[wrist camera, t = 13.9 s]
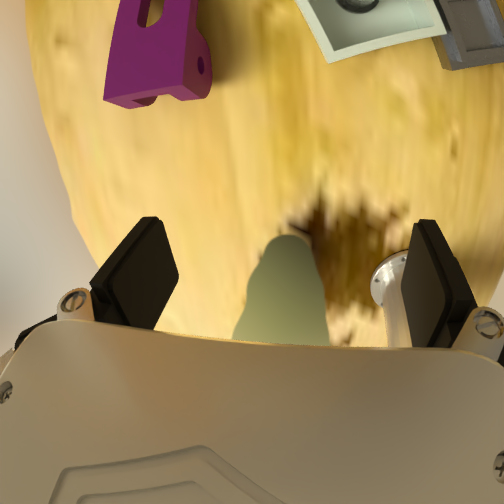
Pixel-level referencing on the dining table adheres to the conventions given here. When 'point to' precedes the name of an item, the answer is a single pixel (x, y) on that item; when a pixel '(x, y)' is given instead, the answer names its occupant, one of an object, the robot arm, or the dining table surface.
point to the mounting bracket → (157, 55)
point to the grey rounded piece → (357, 5)
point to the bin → (369, 25)
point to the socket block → (469, 33)
